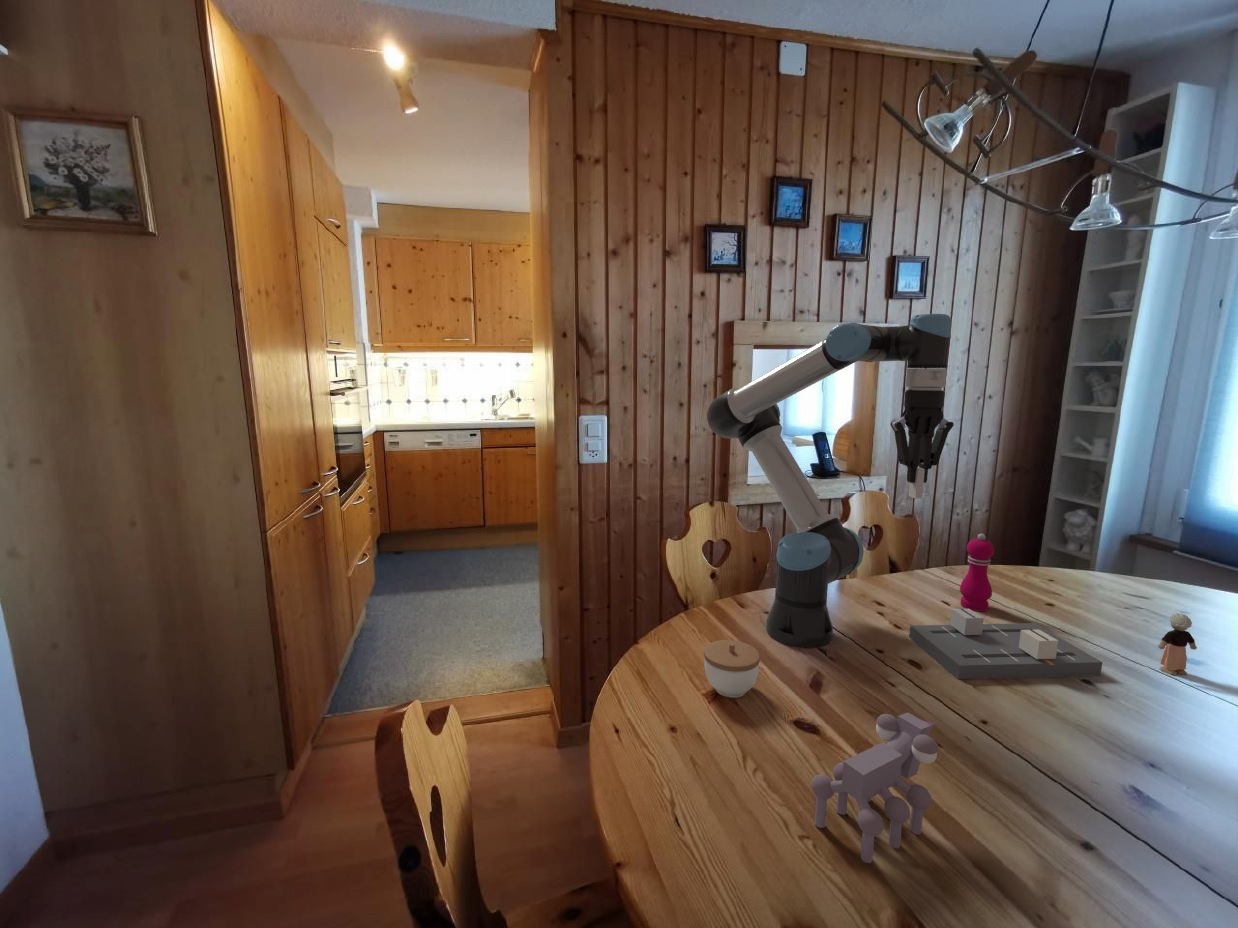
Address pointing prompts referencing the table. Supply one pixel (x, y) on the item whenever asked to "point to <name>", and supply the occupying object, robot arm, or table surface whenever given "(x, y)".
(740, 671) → the lidded jar
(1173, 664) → the grandmother figurine
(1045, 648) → the fader front
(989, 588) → the pepper mill
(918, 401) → the robot arm
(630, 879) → the table surface
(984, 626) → the console
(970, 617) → the fader rear
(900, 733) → the toy sheep
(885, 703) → the table surface
